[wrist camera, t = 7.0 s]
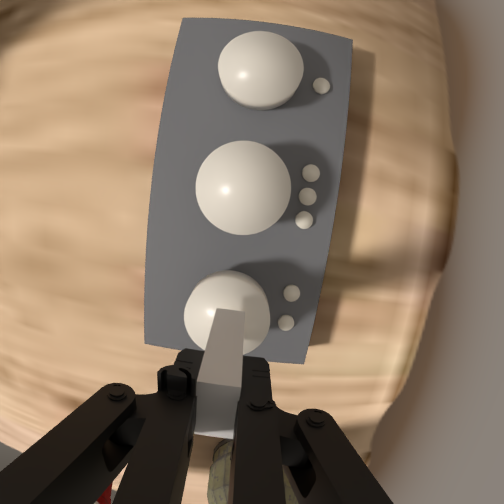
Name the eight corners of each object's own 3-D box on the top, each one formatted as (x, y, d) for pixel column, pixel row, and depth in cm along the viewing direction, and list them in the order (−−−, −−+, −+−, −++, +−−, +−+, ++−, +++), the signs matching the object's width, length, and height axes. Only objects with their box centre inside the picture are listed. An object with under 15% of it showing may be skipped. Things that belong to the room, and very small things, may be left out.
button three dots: (201, 220, 20) (190, 228, 16) (211, 145, 19) (202, 135, 15) (277, 230, 20) (283, 240, 16) (287, 155, 19) (297, 147, 15)
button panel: (153, 329, 24) (143, 345, 21) (189, 32, 18) (182, 15, 16) (299, 347, 24) (304, 366, 21) (343, 52, 19) (354, 38, 16)
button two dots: (192, 323, 21) (182, 350, 18) (198, 257, 20) (186, 273, 17) (261, 332, 22) (263, 361, 18) (271, 266, 21) (276, 285, 17)
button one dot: (218, 113, 19) (211, 97, 16) (229, 52, 18) (225, 27, 15) (290, 122, 20) (299, 109, 16) (297, 60, 19) (307, 38, 15)
